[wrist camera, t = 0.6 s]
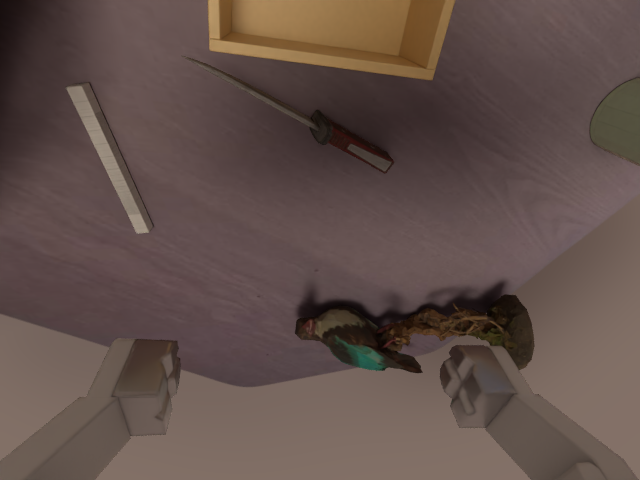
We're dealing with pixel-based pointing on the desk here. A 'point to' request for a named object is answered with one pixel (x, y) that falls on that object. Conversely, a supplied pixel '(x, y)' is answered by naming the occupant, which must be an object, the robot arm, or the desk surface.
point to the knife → (316, 125)
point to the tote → (335, 32)
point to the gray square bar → (109, 154)
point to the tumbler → (619, 122)
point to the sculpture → (382, 344)
